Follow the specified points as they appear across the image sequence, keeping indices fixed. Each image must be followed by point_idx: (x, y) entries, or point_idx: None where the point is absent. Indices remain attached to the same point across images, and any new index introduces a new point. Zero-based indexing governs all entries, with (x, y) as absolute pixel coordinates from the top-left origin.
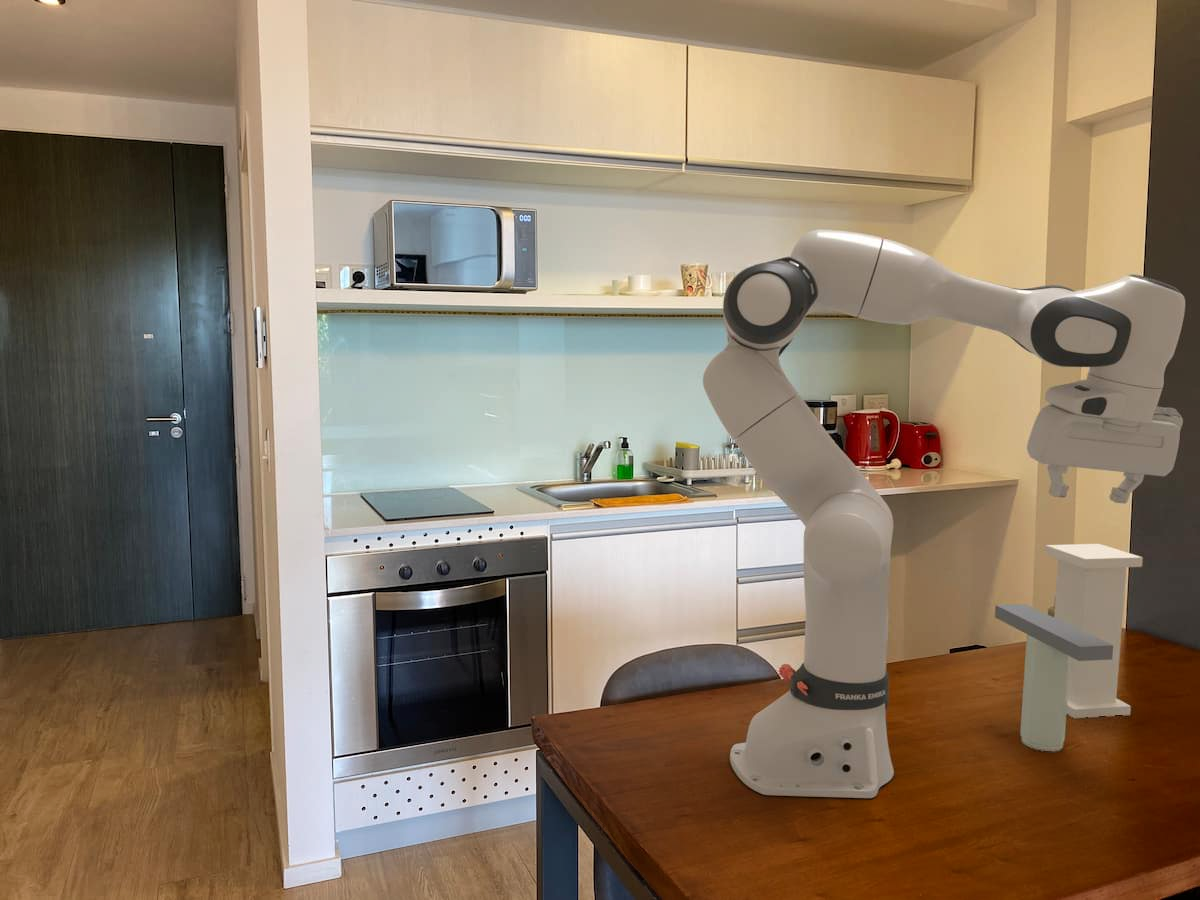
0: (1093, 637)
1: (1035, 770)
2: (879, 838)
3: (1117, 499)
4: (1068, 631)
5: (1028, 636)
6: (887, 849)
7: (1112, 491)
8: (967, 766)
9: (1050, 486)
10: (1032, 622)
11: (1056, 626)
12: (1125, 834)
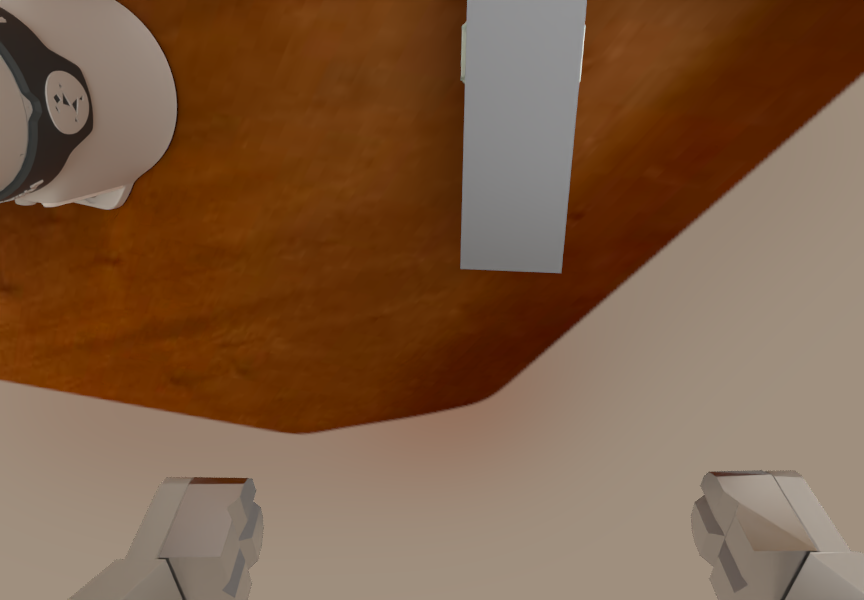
0: (558, 205)
1: (429, 158)
2: (103, 304)
3: (698, 543)
4: (524, 141)
5: (462, 34)
6: (107, 327)
7: (735, 528)
8: (315, 123)
9: (147, 517)
10: (471, 32)
11: (523, 86)
12: (434, 353)
